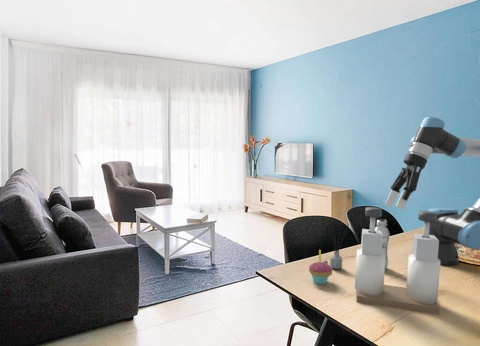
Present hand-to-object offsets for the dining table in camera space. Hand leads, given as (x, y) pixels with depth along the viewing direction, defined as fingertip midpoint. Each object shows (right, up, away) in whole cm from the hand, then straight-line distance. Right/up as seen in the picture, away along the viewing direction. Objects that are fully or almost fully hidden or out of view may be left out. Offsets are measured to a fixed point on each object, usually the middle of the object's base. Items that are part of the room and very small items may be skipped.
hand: (393, 207), depth 128 cm
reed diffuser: (-20, -26, +9) cm, 34 cm away
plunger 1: (-15, -8, -16) cm, 23 cm away
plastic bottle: (-1, -26, +10) cm, 28 cm away
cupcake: (-29, -27, -4) cm, 40 cm away
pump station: (-7, -29, -16) cm, 34 cm away
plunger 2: (+1, -9, -21) cm, 23 cm away
